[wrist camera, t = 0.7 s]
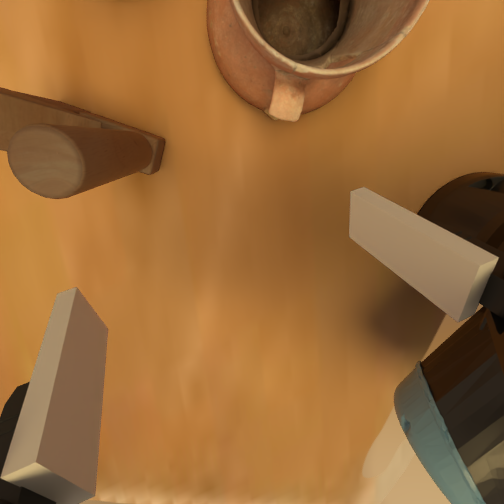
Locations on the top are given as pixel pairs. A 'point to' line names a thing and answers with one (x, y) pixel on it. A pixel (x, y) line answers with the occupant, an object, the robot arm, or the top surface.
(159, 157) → the wooden block
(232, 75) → the ceramic jug
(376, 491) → the top surface
